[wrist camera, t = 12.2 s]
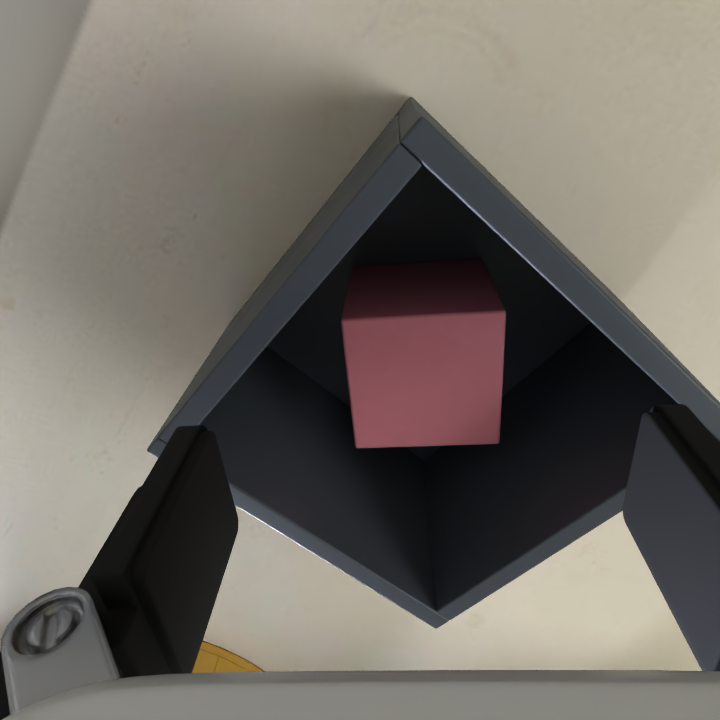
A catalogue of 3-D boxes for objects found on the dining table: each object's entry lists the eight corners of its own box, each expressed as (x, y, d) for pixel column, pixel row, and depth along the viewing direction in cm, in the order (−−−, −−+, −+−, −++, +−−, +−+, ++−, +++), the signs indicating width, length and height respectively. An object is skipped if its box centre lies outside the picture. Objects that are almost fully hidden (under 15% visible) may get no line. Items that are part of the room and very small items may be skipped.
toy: (362, 377, 20) (355, 449, 16) (351, 266, 18) (339, 320, 14) (479, 371, 20) (500, 445, 16) (482, 257, 18) (506, 310, 14)
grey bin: (424, 466, 23) (436, 629, 16) (228, 324, 20) (145, 451, 13) (622, 302, 19) (748, 431, 12) (410, 95, 16) (421, 114, 9)
